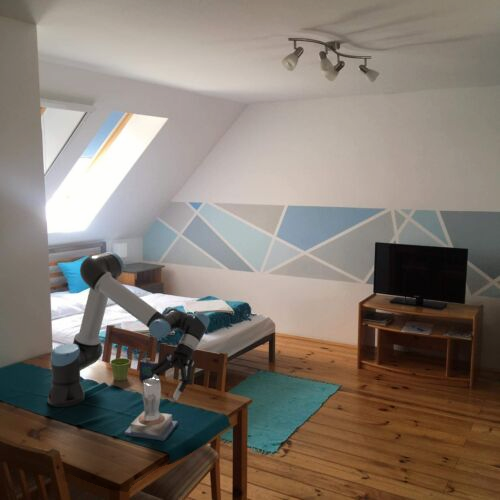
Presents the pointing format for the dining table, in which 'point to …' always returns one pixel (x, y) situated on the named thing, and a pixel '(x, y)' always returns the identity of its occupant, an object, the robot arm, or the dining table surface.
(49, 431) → the dining table surface
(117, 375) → the plant pot
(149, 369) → the flask
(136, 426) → the plinth
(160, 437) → the grey flat slab
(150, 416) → the silver metal cup
